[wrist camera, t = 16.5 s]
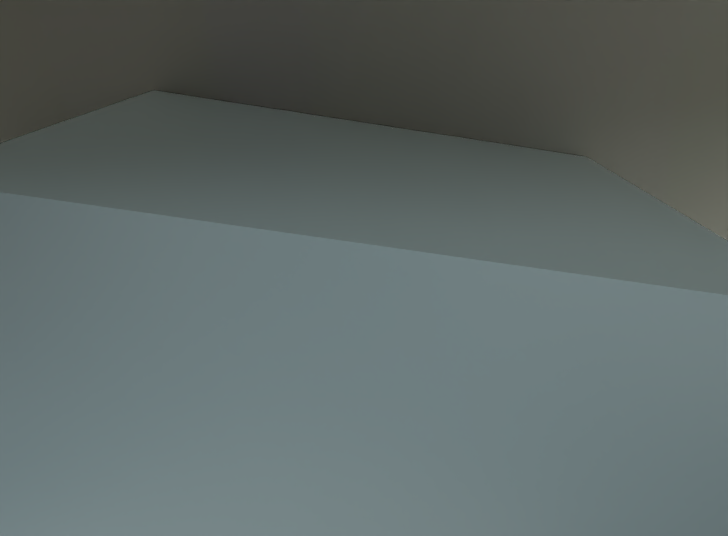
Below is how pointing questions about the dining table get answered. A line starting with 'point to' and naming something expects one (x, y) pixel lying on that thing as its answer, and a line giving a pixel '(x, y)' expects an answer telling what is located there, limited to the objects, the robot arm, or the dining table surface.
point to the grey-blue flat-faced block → (348, 334)
